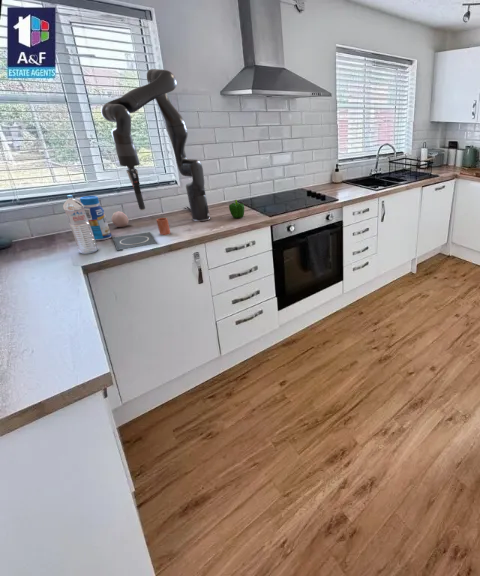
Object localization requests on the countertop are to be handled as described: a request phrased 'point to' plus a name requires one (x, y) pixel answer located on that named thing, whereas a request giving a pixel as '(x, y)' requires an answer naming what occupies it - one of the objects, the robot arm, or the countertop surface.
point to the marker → (139, 200)
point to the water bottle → (80, 226)
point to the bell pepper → (236, 209)
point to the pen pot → (163, 226)
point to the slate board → (133, 241)
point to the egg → (119, 219)
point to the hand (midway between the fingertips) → (138, 192)
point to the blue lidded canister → (96, 217)
